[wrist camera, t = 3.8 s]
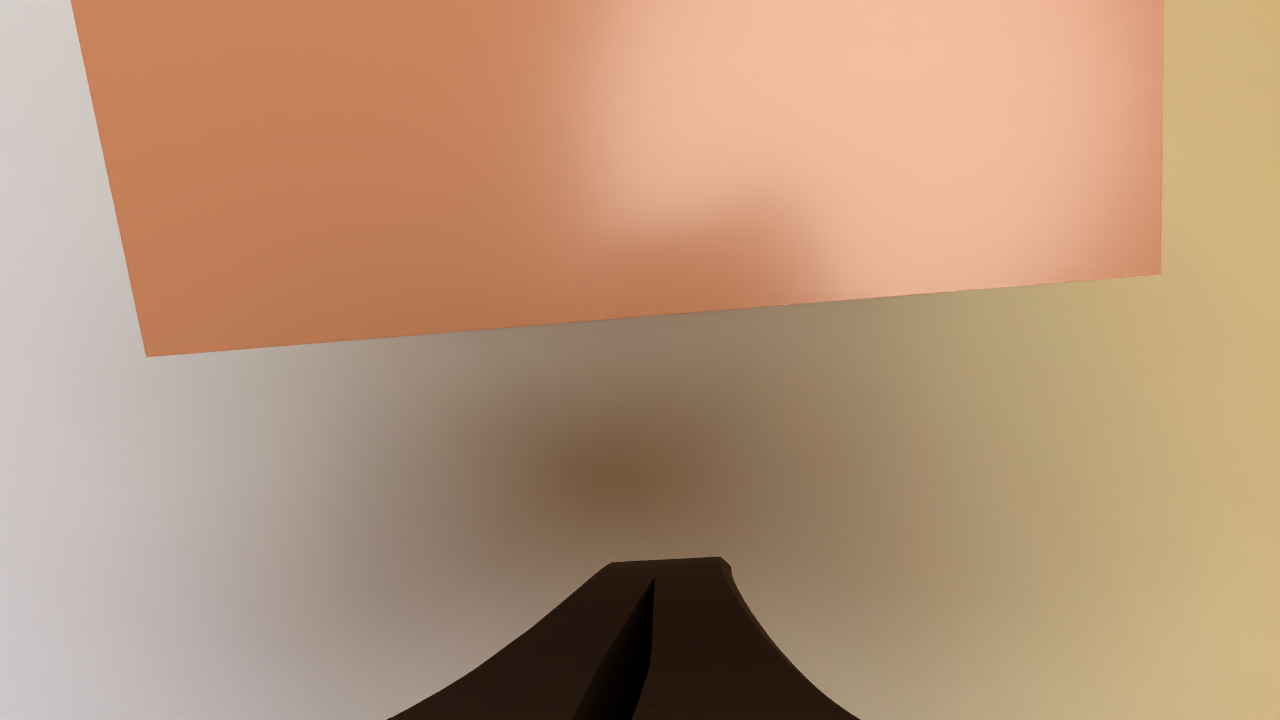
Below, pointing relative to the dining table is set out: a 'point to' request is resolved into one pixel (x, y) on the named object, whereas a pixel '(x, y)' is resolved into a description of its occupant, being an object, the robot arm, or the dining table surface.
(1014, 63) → the orange rectangular block
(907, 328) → the dining table surface
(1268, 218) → the dining table surface
